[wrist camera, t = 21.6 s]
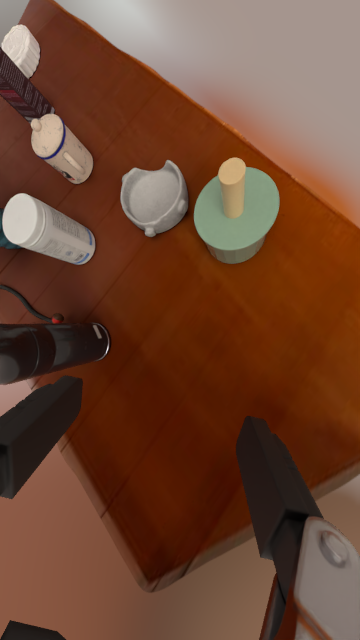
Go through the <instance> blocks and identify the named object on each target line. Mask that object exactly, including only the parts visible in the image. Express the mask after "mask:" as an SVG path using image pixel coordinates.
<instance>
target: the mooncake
mask: <svg viewBox="0 0 360 640" xmlns="http://www.w3.org/2000/svg"><path fill="white" fill-rule="evenodd" d="M2 50H3V51H4V52H5V53H6V54H7V55H8V56H9V58H10V59H11V60H12V61H13V62H14V63H15V64H16V66H17V67H18V68H19V69H20V70H21V71H22V73H23V74H24V75H25V76H26V77H27V78H28V79H29V77H31V76H32V75H33V73H34V72H35V71H36V67H37V66H38V64H39V59H40V54H39V53H40V48H39V44H38V42H37V41H36V39H35V38H34V37H33V35H32V34H31V33H30V31H29V30H28V28H27V27H26V26H23V25H17V26H15V27H14V26H13V28H12V29H11V30H10V32H8V34H7V35H5V37H4V40H3V42H2Z"/></svg>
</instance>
